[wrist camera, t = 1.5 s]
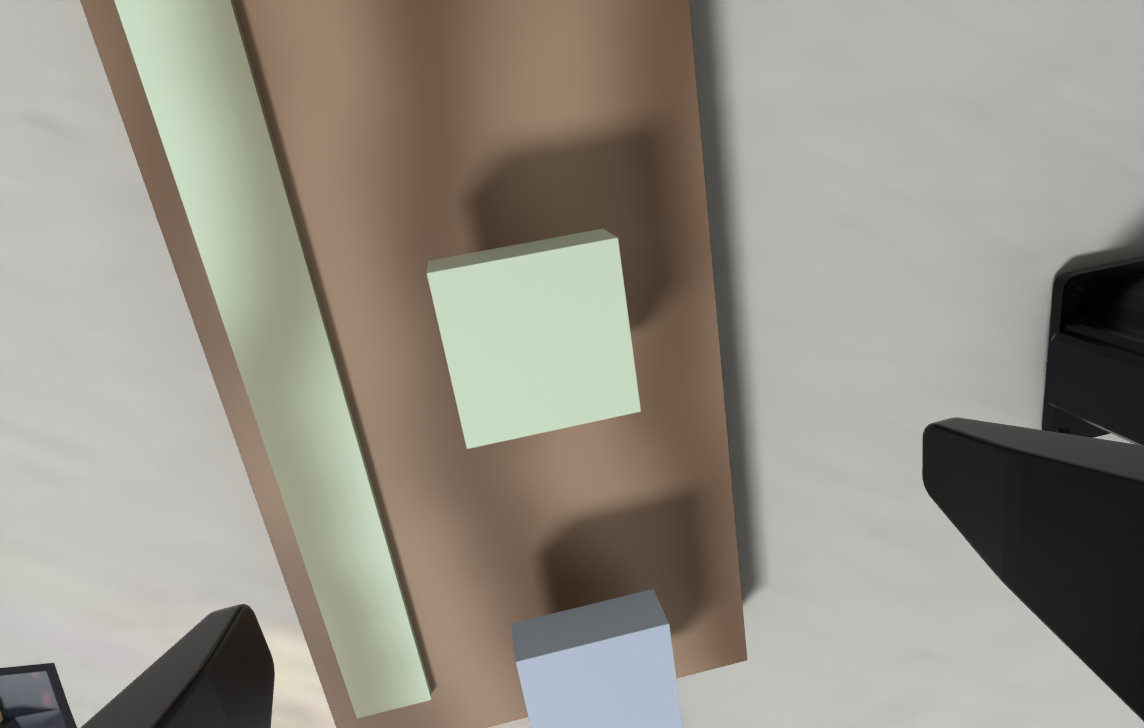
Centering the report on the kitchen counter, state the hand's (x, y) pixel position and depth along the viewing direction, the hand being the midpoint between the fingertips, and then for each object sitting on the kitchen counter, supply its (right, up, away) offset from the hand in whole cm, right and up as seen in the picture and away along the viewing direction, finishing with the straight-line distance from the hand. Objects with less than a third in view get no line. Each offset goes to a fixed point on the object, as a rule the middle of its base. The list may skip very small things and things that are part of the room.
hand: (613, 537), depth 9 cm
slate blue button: (0, -7, +13) cm, 15 cm away
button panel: (-4, +4, +12) cm, 13 cm away
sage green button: (-2, +3, +9) cm, 10 cm away
